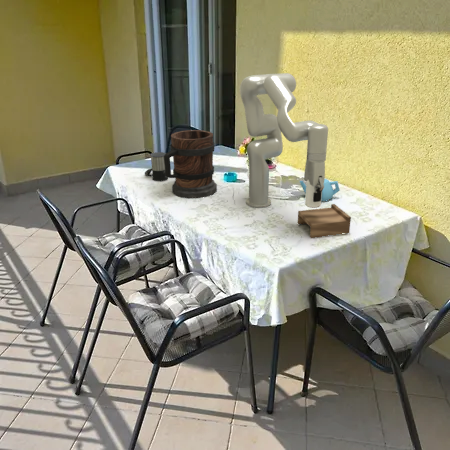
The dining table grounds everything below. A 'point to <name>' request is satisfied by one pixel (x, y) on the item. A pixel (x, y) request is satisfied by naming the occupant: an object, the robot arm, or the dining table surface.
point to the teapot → (325, 189)
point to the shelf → (325, 221)
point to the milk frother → (157, 167)
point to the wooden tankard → (191, 164)
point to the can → (311, 196)
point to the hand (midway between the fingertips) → (313, 198)
